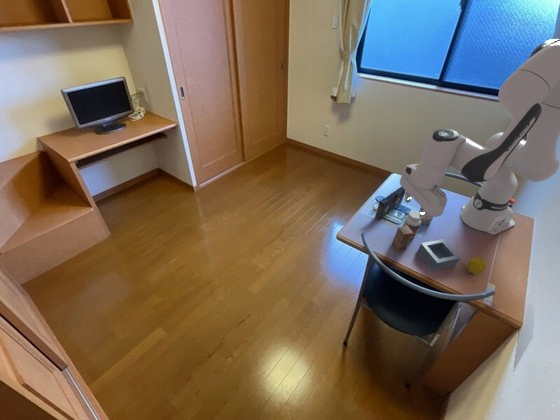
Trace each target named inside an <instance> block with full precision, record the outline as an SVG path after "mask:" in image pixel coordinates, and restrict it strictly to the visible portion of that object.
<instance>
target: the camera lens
mask: <svg viewBox="0 0 560 420" xmlns="http://www.w3.org/2000/svg"><path fill="white" fill-rule="evenodd" d="M419 212H420V213H424V209H423V208H422V207H421V206H420V208H419ZM433 219H434V217H431V216H430V215H427V217H426V218H425V219H421V225H429V224H430V223H431V222H432V221H433Z"/></svg>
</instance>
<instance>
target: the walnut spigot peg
mask: <svg viewBox="0 0 560 420" xmlns="http://www.w3.org/2000/svg"><path fill="white" fill-rule="evenodd" d="M412 234H413V232H412V231H411V229H410V228H409V227H408V226H403V225H402V226H399V227H397V230H396V232H395V235H394V237H393V240H392V242H391V246H392V247H393V248H394V250H395V251H396V252H400V251H405V250H407V247H408V245H409V243H410V241H411V239H412V238H411V237H412Z"/></svg>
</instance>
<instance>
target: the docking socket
mask: <svg viewBox="0 0 560 420" xmlns="http://www.w3.org/2000/svg"><path fill="white" fill-rule="evenodd" d="M416 252H417V253H418V255H419V256H420V257H421V259H423V261H424V262H425V264H427V266H428V267H429V269H430V270H431V271H432V272H435V271H439V270H440V271H441V270H443V269H449V268H454V267H456V265H458V262H460V259H461V257H460V256H459V254H458V253H457V252H456V251H455V250H454V249H453V248H452V247H451V246H450V245H449V243H448V242H446V240H445V239H444V238H442V239H435V240H432V241H426V242H421V243H420V245H419V247H418V249H417V251H416Z"/></svg>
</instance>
